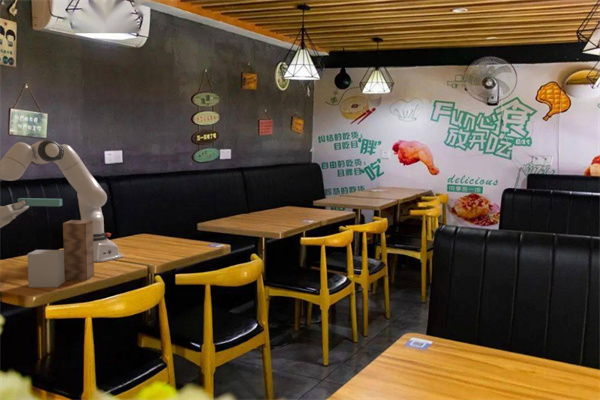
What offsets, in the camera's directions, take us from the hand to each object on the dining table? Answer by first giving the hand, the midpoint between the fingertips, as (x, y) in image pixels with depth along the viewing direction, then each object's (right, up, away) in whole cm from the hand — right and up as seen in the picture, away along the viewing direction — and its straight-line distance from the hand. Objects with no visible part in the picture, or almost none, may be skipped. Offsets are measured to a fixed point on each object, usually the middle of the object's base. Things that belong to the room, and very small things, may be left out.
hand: (27, 201), depth 248 cm
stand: (+20, -35, +9) cm, 41 cm away
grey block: (+10, -37, -4) cm, 38 cm away
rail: (+5, -2, +1) cm, 6 cm away
